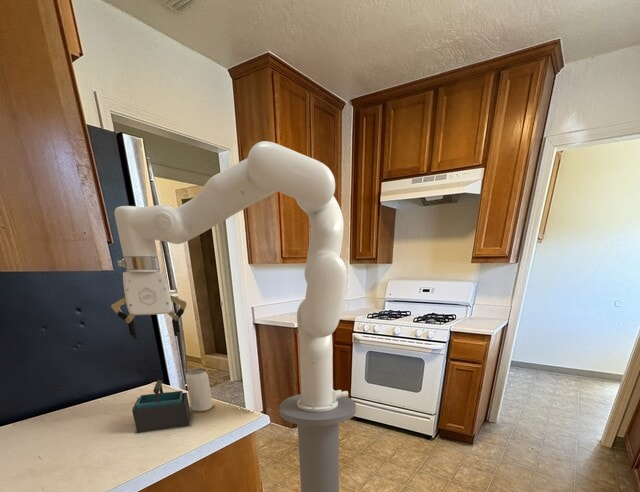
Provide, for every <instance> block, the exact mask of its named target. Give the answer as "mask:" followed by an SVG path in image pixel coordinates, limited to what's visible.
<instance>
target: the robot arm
mask: <svg viewBox="0 0 640 492" xmlns="http://www.w3.org/2000/svg"><path fill="white" fill-rule="evenodd" d="M276 192H278V193H280V194H283V195H285V196H287V197H290V198H293V199H294V200H295V202H296V204H297V205H298V207H299V208H300V209H301V210H302V211H303V212H304V213H305V214H306V215H307V218H308V220H309V225H310V228H309V229H310V232H309V243H308V249H307V256H306V262H305V267H304V279H305V282H306V290H305V297H304V299H303V300H302V301H301V302H300V304H299V305H298V308H297V312H296V321H297V322H296V323H297V333H298V345H299V347H298V349H299V365H300V366H299V367H300V369H299V370H300V390H301V391H300V392H301V393H300V394H302V398H300V399H299V400H298V401H297V407H298V408H299V409H301V410H303V411H307V412H325V411H330V410H332V409H335V408H336V407H337V406H338V400H337V399H339V398H344V397H349V392H348V390H343V391H342V389H337V390H335V389H334V377H333V376H334V375H333V373H334V371H333V369H334V368H333V366H334V365H333V362H334V361H333V360H334V359H333V352H334V350H333V333H334V332H335V331H336V330H337V327H338V325H339V323H340V319H341V315H342V309H343V303H344V298H345V293H346V286H347V278H348V273H347V266H346V264H345V262H344V260H343V259H342V258H341V255H342V247H343V239H344V231H345V229H344V228H345V226H344V225H345V224H344V217H343V213H342V210H341V207H340V204H339V203H338V200H337V199H336V197H335V192H336V179H335V175H334V174H333V172H332V170H331V169H330V167H328V166H327V165H326V164H324V163H323V162H321V161H320V160H317V159H315V158H312V157H310V156H307V155H305V154H302V153H300V152H298V151H295V150H293V149H292V148H288V147H287V146H283V145H281V144H279V143H276V142H274V141H273V142H272V141H267V140H265V141H259V142H257V143H255V144H254V145H253V146H252V147H251V149H250V150H249V152H248V155H247V158H245V159H243V160H241V161H239V162H237V163H236V164H233V165H231V166H230V167H227V168H226V169H224V170H222V171H220V172H218V173H217V174H215V175H212V176H211V177H210V178H209V179H208V180H207V181H206V183H205V184H204V186H203V188H202V189H201V191H199V193H197V194H196V195H195V196H194V197H193V198H191V199H189V200H188V201H186V202H185V203H183V204H181V205H179V206H177V207H173V206H170V205H168V204H156V205H150V206H149V205H148V206H135V205H120V206H117V207H116V208H115V209H114V219H115V224H116V228H117V234H118V238H119V242H120V247H121V252H122V256H123V257H122V259H120V260H117V266H118V268H119V267H121V268H124V269H125V271H123V272H122V284H123V291H124V297H123V298H121V299H119V300H117V301H116V302H114V303H113V304H111V305H110V307H111V309H112V310H113V311H114V312H115V313H116V315H117V316H118V318H120V319H122V320H123V321H125V323H127V326H128V330H129V335H130V336H132V337H133V340H137V339H138V338H139V335H138V331H137V326H136V325H137V324H136V322H135V321H134V318H135V317H136V316H149V315H150V316H151V315H166V314H167V315H168V316H170V318H172V320H171V324H172V329H173V335H174V337H178V333H180V332H181V331H180V325H179V319H180V318H181V317H182V316H183V314H184V313H185V310H186V307H187V302H186V301H185V300H183V299H181V298H178V297H176V296H174V295H171V293H170V289H169V283H168V280H167V278H166V275H165V272H164V271H161V266H160V261H159V254H158V250H157V244H156V241H161V242H165V243H170V244H172V245H173V244H174V245H181V244H184V243H186V242H189V241H190V240H193V239H194V238H196V237H199V236H200V235H202V234H204V233H205V232H207V231H209V230H211V229H213V228H214V227H215V226H217V225H219V224H221V223H223V222H225V221H226V220H227V219H229V218H230V217H232V216H234V215H236V214H238V213H239V212H242V211H243V210H245V209H247V208H249V207H250V206H253V205H254V204H256V203H259V202H260V201H262V200H264V199H266V198H268V197H270V196H272V195H273V194H275V193H276ZM172 302H173V303H175V304H177V305H179V308H178V310H177V312H175V311H174V310H173V303H172ZM125 304H126V308H127V311H128V313H129V314H128V315H127V314H126V313H125V312H123V311H122V310H121V307H122V306H124V305H125Z"/></svg>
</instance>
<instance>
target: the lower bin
mask: <svg viewBox="0 0 640 492" xmlns="http://www.w3.org/2000/svg"><path fill="white" fill-rule="evenodd" d="M183 396H184V401H183V404H175V405H166V406H158V407H149V408H141V409H137V408H136V404H137V402H138V400H139V398H140V397H138V398H136V399H137V400H136V401H135V403H134V405H133V406H132V409H131V412H132V416H133V421H134V425H135V428H136V429H135V430H136V433H137V434H139V433H146V432H147V433H148V432H154V431H155V432H156V431H162V430H169V429H177V428H184V427H190V424H191V406H190V401H189V395H188V392H183Z"/></svg>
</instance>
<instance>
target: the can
mask: <svg viewBox="0 0 640 492" xmlns="http://www.w3.org/2000/svg"><path fill="white" fill-rule="evenodd" d="M185 382H186V386H187V395H188V400H189V406H190V410H192V411H193V412H197V413H198V412H199V413H201V412H207V411H209V410H211V409H212V408H213V398H212V392H211V391H212V390H211V384H210V379H209V375H208V373H207V370H206V369H205V368H192V369H188V370H186V374H185Z"/></svg>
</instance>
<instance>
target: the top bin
mask: <svg viewBox="0 0 640 492" xmlns="http://www.w3.org/2000/svg"><path fill="white" fill-rule="evenodd" d="M152 391H153V393H148V394H140V395H139V397H138V398H139V400H138V402H137V404H136V408H137V409H141V408H149V407H158V406H166V405H175V404H183V401H184V396H183V393H184V392H183V391H184V390H176V391H167V392H164V389H163V381H162V380H161V379H157V380H156V382H155V385H154V388H153V390H152Z"/></svg>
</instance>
